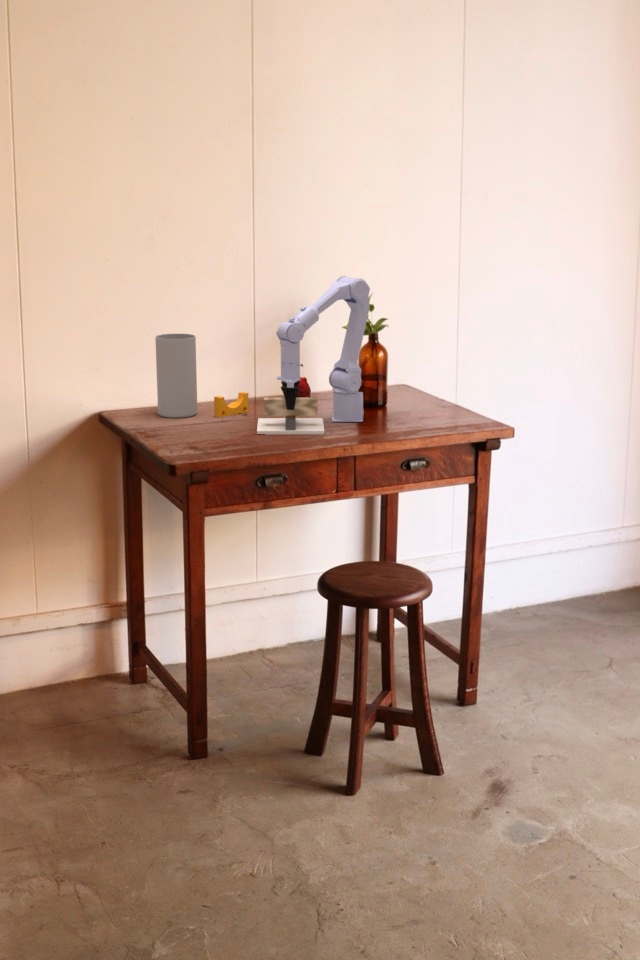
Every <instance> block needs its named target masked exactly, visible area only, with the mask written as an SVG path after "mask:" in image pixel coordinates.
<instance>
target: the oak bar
mask: <svg viewBox="0 0 640 960" xmlns="http://www.w3.org/2000/svg"><path fill="white" fill-rule="evenodd" d="M263 401H264V402H263V408H264V413H263V415H264V417H286V416H296V417H318V405H319V404H318V403H319V402H318V397H313V396H311V397H296V402H295V408H294V410H287V408H286V402H285V397H284V396H283V397H263Z"/></svg>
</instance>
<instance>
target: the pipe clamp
mask: <svg viewBox="0 0 640 960" xmlns="http://www.w3.org/2000/svg"><path fill="white" fill-rule="evenodd" d="M213 401H214V402H213V405H214V407H213V409H214V417H215V416H217V417H216V418H219V417H220V418H224V417H223V416H226V417H229V416H228V415H231V416H234V415H233V414H236V415H240V414H239V413H242V414H245V413H244V412H247V413H249V406H250V405H249V392H245V391H239V392H238V396H237V399H236V401H232V402H230V403H228V405H227V403H226V401H225V397H224V396H220V395H217V396H213Z"/></svg>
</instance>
